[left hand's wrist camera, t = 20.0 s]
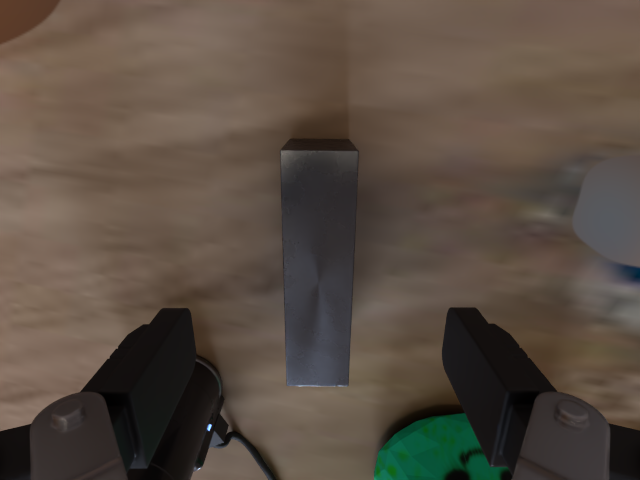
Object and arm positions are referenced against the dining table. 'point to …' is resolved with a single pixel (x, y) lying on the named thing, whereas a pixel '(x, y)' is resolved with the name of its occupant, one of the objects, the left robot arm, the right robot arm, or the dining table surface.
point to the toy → (436, 453)
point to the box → (318, 258)
